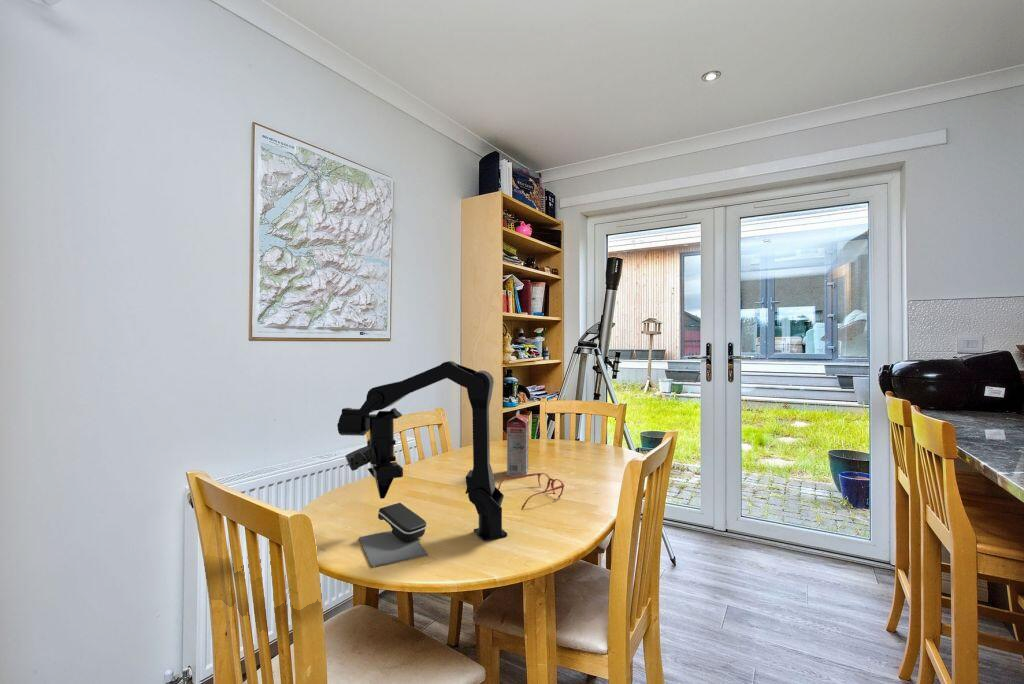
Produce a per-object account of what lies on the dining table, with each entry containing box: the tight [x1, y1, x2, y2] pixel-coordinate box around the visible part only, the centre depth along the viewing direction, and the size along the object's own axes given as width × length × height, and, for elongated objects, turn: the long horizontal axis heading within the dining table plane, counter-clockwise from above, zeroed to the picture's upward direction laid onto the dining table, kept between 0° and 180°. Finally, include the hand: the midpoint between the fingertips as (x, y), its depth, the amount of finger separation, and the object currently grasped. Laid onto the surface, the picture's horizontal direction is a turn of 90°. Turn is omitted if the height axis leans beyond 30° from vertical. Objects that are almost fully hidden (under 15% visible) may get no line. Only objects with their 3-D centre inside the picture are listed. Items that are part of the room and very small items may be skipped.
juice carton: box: [506, 409, 529, 477], centre depth 166 cm, size 7×7×22 cm
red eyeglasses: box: [497, 472, 565, 508], centre depth 143 cm, size 17×16×5 cm
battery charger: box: [377, 502, 427, 542], centre depth 113 cm, size 7×4×11 cm
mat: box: [358, 530, 429, 568], centre depth 108 cm, size 16×12×1 cm
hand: (382, 498), depth 118 cm, fingers closed
